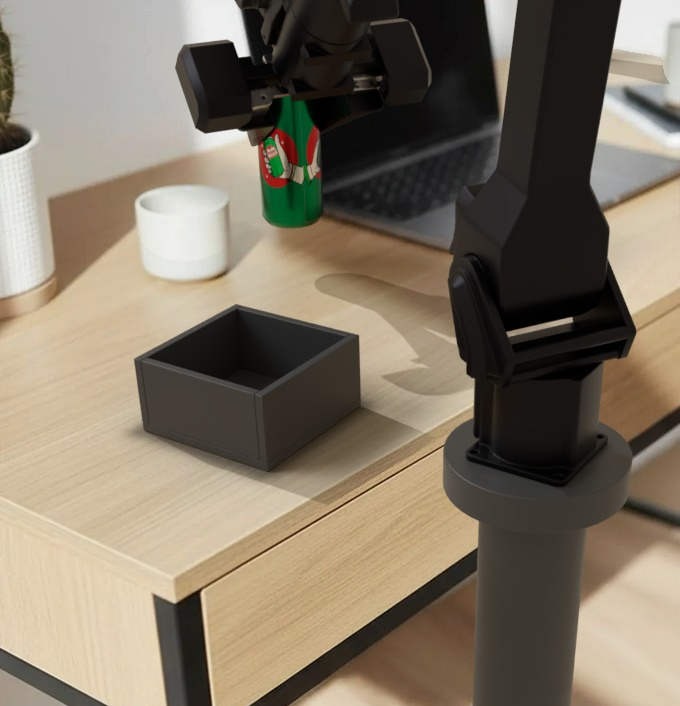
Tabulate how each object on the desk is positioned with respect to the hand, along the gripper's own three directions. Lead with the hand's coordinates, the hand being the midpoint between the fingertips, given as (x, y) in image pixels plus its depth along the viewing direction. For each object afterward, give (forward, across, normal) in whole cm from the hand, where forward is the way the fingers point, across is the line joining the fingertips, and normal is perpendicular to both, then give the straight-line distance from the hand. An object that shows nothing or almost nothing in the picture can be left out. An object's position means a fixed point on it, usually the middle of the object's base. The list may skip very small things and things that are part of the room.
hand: (281, 136), depth 97 cm
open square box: (-10, +13, +26) cm, 30 cm away
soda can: (+4, 0, +6) cm, 7 cm away
